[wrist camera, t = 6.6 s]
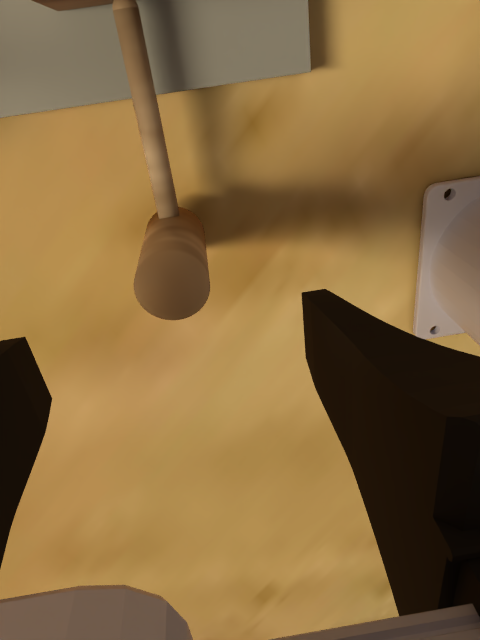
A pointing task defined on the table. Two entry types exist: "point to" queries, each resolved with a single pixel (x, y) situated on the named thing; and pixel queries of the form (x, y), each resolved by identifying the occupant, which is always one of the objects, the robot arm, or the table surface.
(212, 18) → the lane shelf
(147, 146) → the block
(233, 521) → the table surface
